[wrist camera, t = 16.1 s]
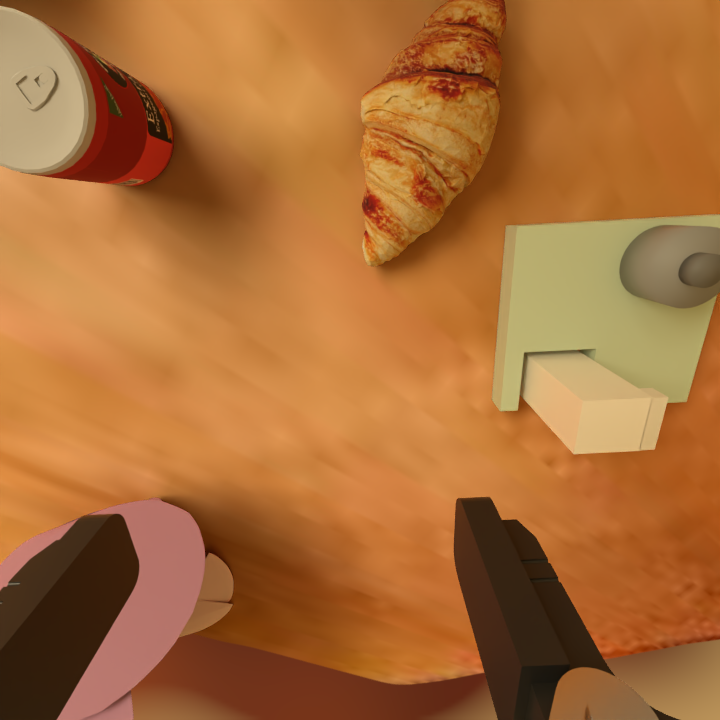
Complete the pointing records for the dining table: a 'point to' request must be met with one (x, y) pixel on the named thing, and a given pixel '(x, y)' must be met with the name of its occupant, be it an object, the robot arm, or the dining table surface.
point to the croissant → (430, 124)
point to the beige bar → (590, 403)
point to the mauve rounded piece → (143, 603)
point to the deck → (609, 298)
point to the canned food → (74, 110)
